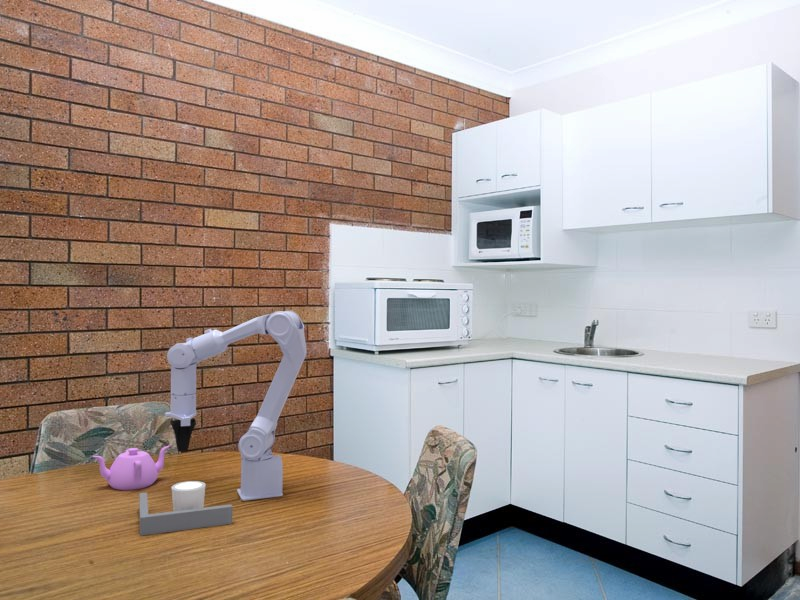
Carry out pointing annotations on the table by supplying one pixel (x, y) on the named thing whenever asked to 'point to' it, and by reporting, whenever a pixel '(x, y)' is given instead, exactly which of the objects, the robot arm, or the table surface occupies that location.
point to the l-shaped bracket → (181, 518)
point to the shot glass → (188, 495)
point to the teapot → (132, 469)
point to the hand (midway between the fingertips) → (182, 450)
